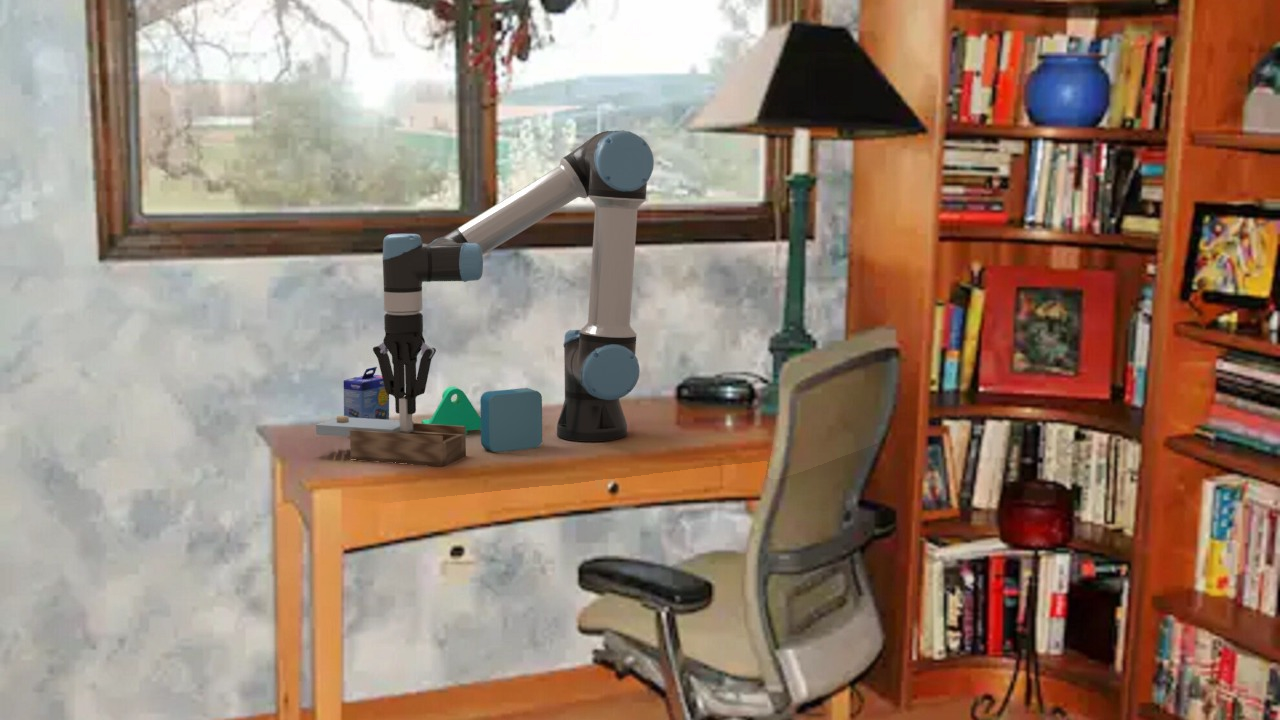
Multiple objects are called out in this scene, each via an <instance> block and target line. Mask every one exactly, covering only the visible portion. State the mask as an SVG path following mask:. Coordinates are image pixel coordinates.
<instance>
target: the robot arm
mask: <svg viewBox="0 0 1280 720" xmlns="http://www.w3.org/2000/svg"><path fill="white" fill-rule="evenodd" d="M654 161H655V160H654V155H653V151H652V149H651V147H650V145H649V144H648V143H647V141H646V140H645V139H644V138H642V137H641V136H639V135H638V134H636V133H634V132H631V131H627V130H606V131H601V132H600V133H597V134H595V135H594V136H592V137H590V138H588V140H586V141H585V142H584V143H583V144H581V145H580V146H578V147H577V148H576V149H574V150H572V151H571V152H570V153H568V154H567V155H565V156H564V157H562V158H561V159H560V162H559V165H558V166H557V167H555V168H553V169H552V170H551V171H549V172H547V173H546V174H544V175H543V176H541V177H538V178H537V179H535V180H534V181H532V182H531V183H529V184H527V185H525V186H524V187H523V188H521V189H519V190H518V191H516V192H515V193H513V194H511V195H510V196H508V197H506V198H505V199H503V200H501V201H499V202H497V203H496V204H495V205H493V206H492V207H490V208H488V209H487V210H485V211H483V212H481V213H480V214H479V215H476V216H475V217H474V218H472V219H470V220H469V221H467V222H465V223H464V224H462V225H461V226H459V227H457V228H456V229H455V230H453V231H451V232H449V233H447V234H446V235H444V236H441V237H438V238H436V239H434V240H433V241H432V242H430V243H423V241H422V237H421V236H420V234H417V233H392V234H387V235H386V236H385V237H384V238H383V242H382V244H383V245H382V272H383V273H382V275H383V310H384V311H385V312H387V313H385V314H384V316H383V317H384V318H383V319H384V324H383V325H384V333H385V335H384V337H383V342H381V343H380V344H379V345H377V346H374V347H373V348H372V352H373V354H374V355H375V357H376V358H377V361H378V366H379V369H380V373H381V374H380V375H382V378H383V382H384V386H385V390H386V393H387V394H389V395H391V396H393V397H394V404H395V405H394V406H395V408H394V409H395V413H396V414H399V419H398V420H400V431H408V430H411V429H413V428H412V421H413V415H414V414H415V413H416V411H417V409H416V407H417V400H416V399H417V397H418V396H421V395H424V394H425V392H426V387H427V383H428V377H429V373H430V367H431V363H432V359H433V358H434V356H435V354H436V353H437V350H436V348H434V347H431V346H429V345H428V344H427V343H426V340H425V338H424V336H423V331H424V317H423V313H421V311H422V310H423V283H425V282H427V283H428V282H429V283H430V282H463V283H466V282H470V281H473V282H474V281H479V280H480V279H482V277H483V273H484V272H483V271H484V259H483V258H484V255H486V254H488V253H489V252H490V251H492V250H494V249H496V248H497V247H499V246H500V245H502V244H504V243H505V242H507V241H509V240H510V239H512V238H513V237H515V236H517V235H519V234H520V233H522V232H523V231H525V230H527V229H529V228H530V227H532V226H533V225H535V224H537V223H538V222H540V221H542V220H543V219H545V218H546V217H548V216H549V215H551V214H553V213H555V212H556V211H558V210H560V209H561V208H563V207H565V206H566V205H568V204H569V203H572V201H574V200H576V199H577V198H581V199H587V198H589V199H590V200H591V202H592V204H594V222H593V235H592V236H593V238H592V239H593V240H592V251H591V252H592V254H591V255H592V256H591V270H590V282H589V283H590V286H589V299H588V300H589V301H588V302H589V303H588V313H587V314H588V317H587V318H588V319H587V323H586V324H585V325H584V326H583V327H582V328H581V329H570V330H567V331H566V332H565V334H564V340H563V341H564V342H563V348H564V353H563V354H564V355H563V356H564V359H563V360H564V401H563V405H562V408H561V411H560V414H559V417H558V421H557V424H556V436H557V437H558V438H560V439H564V440H567V441H575V442H576V441H577V442H605V441H606V442H607V441H613V440H614V441H615V440H619V439H623V438H625V437H627V436H628V423H627V421H626V416H625V414H624V410H623V407H622V405H621V401H620V399H621V398H624V397H625V396H627V395H629V393H630V392H632V390H634V388H635V387H636V385H637V384H638V381H639V378H640V370H641V369H640V364H639V360H638V358H637V356H636V352H637V351H636V349H637V333H636V332H635V330H634V329H633V327H631V313H632V312H631V311H632V299H633V298H632V297H633V296H632V295H633V282H634V266H635V253H636V252H635V251H636V237H637V223H638V211H639V210H638V209H639V208H640V206H641V205H642V204H644V202H646V201H647V200H646V199H647V187H648V186H647V185H648V181H649V180H650V178H651V176H652V173H653V171H654V165H655V164H654ZM388 353H390V355H391V361H390V356H389V354H388ZM419 354H420V355H421V358H420V361H419V366H418V370H417V362H418V355H419ZM391 363H392V365H391ZM392 366H393V367H392Z"/></svg>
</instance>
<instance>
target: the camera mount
mask: <svg viewBox="0 0 1280 720" xmlns="http://www.w3.org/2000/svg"><path fill="white" fill-rule="evenodd" d="M454 395H456V399H454V401H453V400H452V397H453V396H454ZM441 397H442V399H441V401H440V402H439V404H438V406H437V408H436V409H435V411H434V412H433V415H432V416H431V418H429V419H423V420H421V423H423V424H438V425H454V426H465V431H466V434H469V433H468V431H474V430H475V431H476V430H477V431H478V430H481V415H479V413H478V411H477V410H476V409H475V406H473V404H472V402H471V401H470V399H469V397H467V395H466V393H465V392H464V391H463V390H461V389H460V388H458V387H456V386H449V387H447V388H445V390H444V391H443V392H442V396H441Z"/></svg>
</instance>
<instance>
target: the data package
mask: <svg viewBox="0 0 1280 720" xmlns="http://www.w3.org/2000/svg"><path fill="white" fill-rule="evenodd" d="M479 400H480V401H479V402H480V403H479V405H480V418H481V429H480V443H481V446H482V447H483V449H486V450H488V451H491V452H493V453H496V454H497V453H504V452H513V451H522V450H531V449H537V448H539V447H540V446H541V445H542V443H543V396H542V393H540V391H538V390H535V389H532V388H528V387H524V388H523V387H521V388H512V389H501V390H490V391H489V390H488V391H486V392H483V394H482V395H481V396H480V399H479Z"/></svg>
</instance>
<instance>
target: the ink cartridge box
mask: <svg viewBox="0 0 1280 720" xmlns="http://www.w3.org/2000/svg"><path fill="white" fill-rule="evenodd" d="M377 368H378V367H377V366H373V367H370V368H366V369H365V371H364V372H363V375H361V376H355V377H351V378H348V379H345V380H343V416H349V417H351V418H368V419H384V420H390V394H387V393H386V390H385V386H384V382H383V378H382V374H376V371H377ZM371 371H372V372H371Z"/></svg>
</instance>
